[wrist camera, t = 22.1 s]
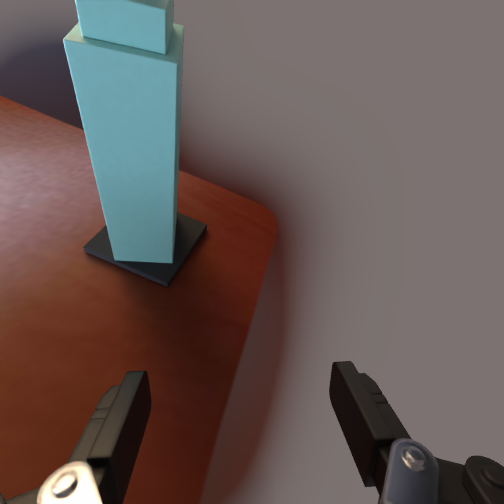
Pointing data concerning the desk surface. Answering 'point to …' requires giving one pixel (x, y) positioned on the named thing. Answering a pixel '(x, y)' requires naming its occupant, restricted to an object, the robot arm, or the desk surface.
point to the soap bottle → (131, 118)
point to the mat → (157, 272)
